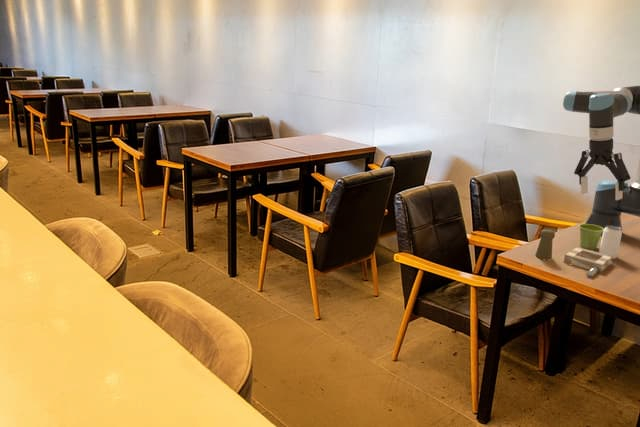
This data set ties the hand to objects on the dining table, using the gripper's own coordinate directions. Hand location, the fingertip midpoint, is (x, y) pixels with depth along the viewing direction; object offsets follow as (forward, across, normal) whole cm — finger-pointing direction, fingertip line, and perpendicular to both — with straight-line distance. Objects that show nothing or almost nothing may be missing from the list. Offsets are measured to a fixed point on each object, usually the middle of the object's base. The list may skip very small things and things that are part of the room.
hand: (601, 196), depth 195 cm
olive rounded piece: (+24, -14, -14) cm, 31 cm away
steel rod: (+26, +4, -10) cm, 28 cm away
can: (+28, -5, +11) cm, 31 cm away
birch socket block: (+26, -3, -3) cm, 27 cm away
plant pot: (+28, -15, +13) cm, 34 cm away
